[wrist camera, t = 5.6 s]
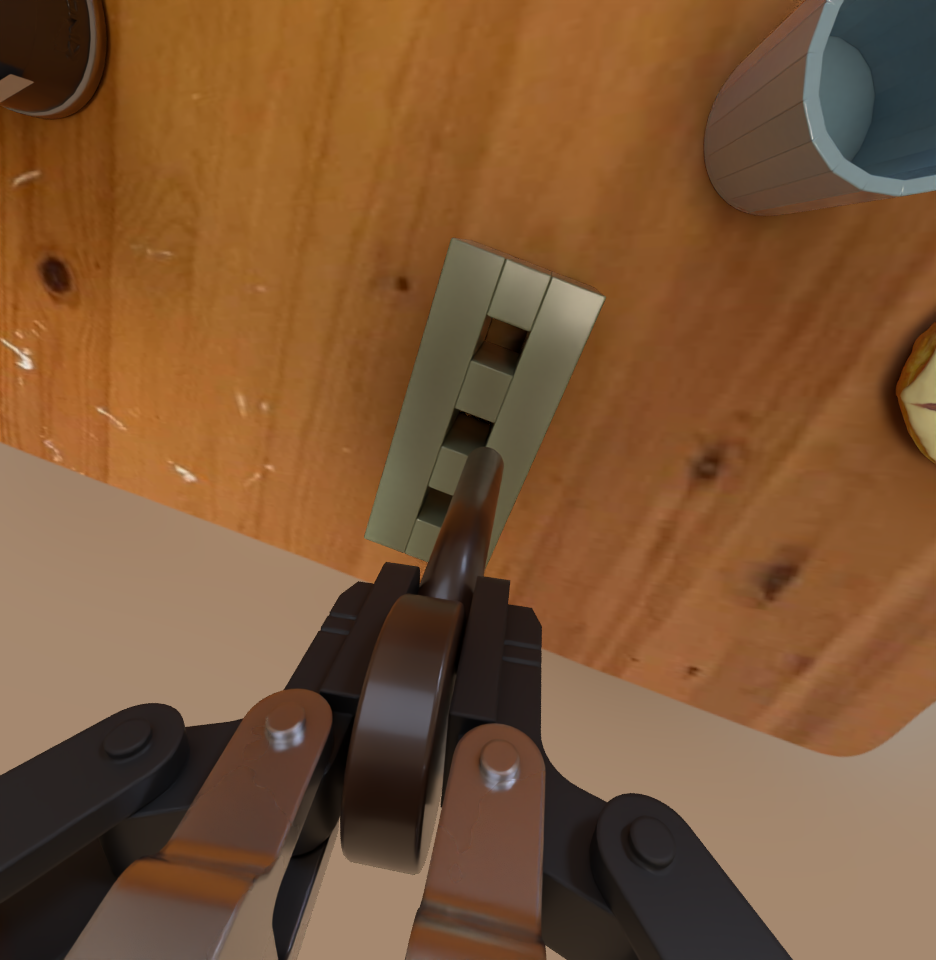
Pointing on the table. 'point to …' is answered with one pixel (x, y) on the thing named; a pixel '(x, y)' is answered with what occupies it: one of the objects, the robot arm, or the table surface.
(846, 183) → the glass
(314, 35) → the table surface
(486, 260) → the stand
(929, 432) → the decorated donut
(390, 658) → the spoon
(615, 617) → the table surface
